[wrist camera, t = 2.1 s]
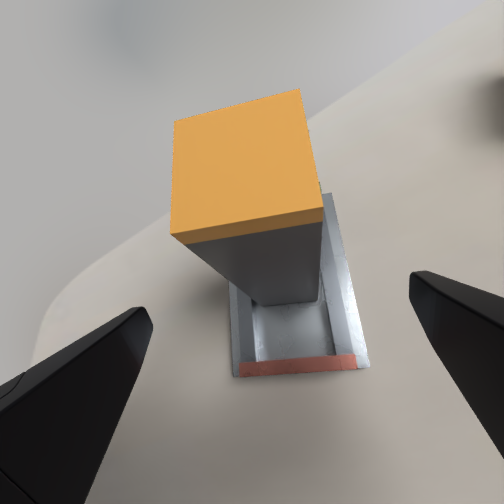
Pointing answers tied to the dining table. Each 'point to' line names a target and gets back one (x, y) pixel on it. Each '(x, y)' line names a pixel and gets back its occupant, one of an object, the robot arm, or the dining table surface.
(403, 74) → the dining table surface
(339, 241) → the grey rectangular tray
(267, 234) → the block
